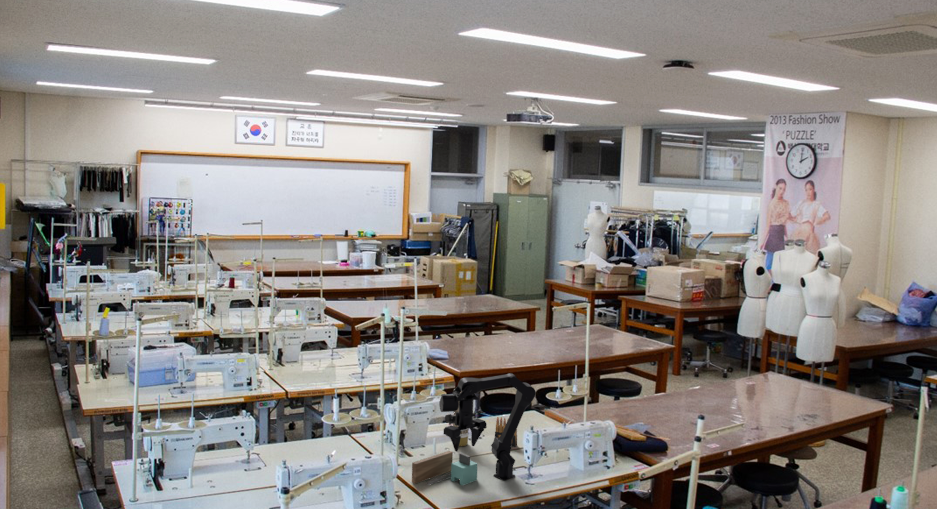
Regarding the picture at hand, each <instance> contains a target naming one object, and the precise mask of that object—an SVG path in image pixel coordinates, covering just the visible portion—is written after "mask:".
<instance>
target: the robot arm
mask: <svg viewBox="0 0 937 509" xmlns="http://www.w3.org/2000/svg"><path fill="white" fill-rule="evenodd" d="M508 386H512V387H513V388H514V389H516V391H515V400H514V401H515V402H514V405H513V407H512V409H511V411H510V415H509V417H508V418H507V420H508V421H506V425H505V428H504V430H503V432H502V435H501V436H500V437H499V438H496V437H495V436H494V438H493V442H492V444H490V446H491V449H490V450H491V453H492V454H493V456H494V457H495V458H496V459H497V460H496V464H495V473H494V474H493V477H495V478H498V479H500V480H503V481H507V480H511V479H513V478H515V477H516V475H515V474H513V473H514V465H515V463H516V459H515V458H514V457H513V456H512V454H511V452H512V447H513V446H512V439H513V436H514V434H515V432H516V429H517V430H518V427H519V424H520V422H521V420H522V417H523V415H524V413H525V411H526V409H527V407H528V406H530V405H531V404H532V402H533V400H534V399H535V398H536V395H537V393H536V392H537V391H536V390H535V388H534V387H533V386H531V384H529V383H528V382H523V381H521V380H520V379H519V378H517V376H516V375H515V374H513V373H512V372H510V373H509V372H508V373H507V374H500V375H495V376H487V377H482V378H477V377H463V378H460V380H459V381H458V383H457V386H456V387H455V388H454V389H455V390H454V389H453V391H452V394H450V393H449V394H445V393H444V394H443V393H442V394H440V395H441V397H440V399H439V401H438V402H439V404H438V406H439V410H440V412H441V413H449V414H446V415H445V417H444V420H445V423H446V424H448V426H445V427H444V428H443V435H445V436H447V437H449V438H450V440H451V442H452V446H453V449H454V451H455V452H458V450H459V447H460V446H459V444H460V439H461V436H460V434H461V431H464V430H467V429H468V430H470V431H471V434H470V435H471V440H470V441H471V446H472V447H475V446H476V443H477V442H478V440H479V438H480V436H481V435H482V433H483V432H484V431H485V429H487V427H488V426H487V425H488V424H487V422H486V420H483V419H480V418H477V417H476V418H474V417H475V416H476V413H475V412H474V401H477V400H478V401H479V400H480V398H479V397H478V395H476V394H478V393H480V392H481V391H484V390H489V389H495V388H500V387H508ZM460 392H461V393H460ZM458 407H459V412H456V415H452V414H451V413H452V412H454V411H456V410H457V409H458ZM450 412H451V413H450ZM454 423H455V425H456V426H457V425H458V427H454V426H453V424H454Z"/></svg>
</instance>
